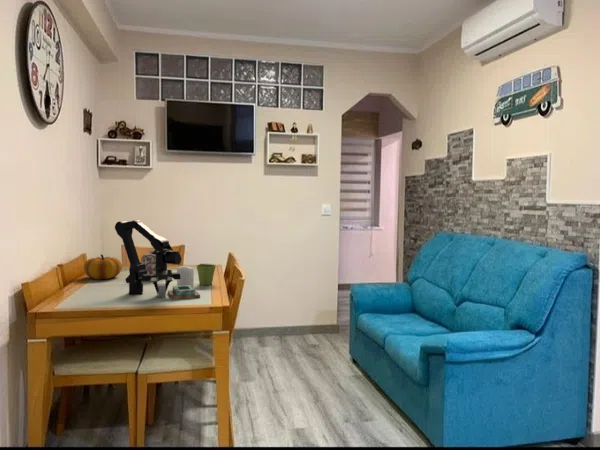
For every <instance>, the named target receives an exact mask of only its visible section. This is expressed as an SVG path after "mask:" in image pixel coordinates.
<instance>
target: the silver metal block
mask: <svg viewBox="0 0 600 450" xmlns="http://www.w3.org/2000/svg"><path fill="white" fill-rule="evenodd" d="M157 287H158V294H157V293H156V295H157V297H158V299H160V298H162V299H164V298H166V297H167V296H166V294H167V291H166V285H165V282H164V283H163V282H162V283H157Z"/></svg>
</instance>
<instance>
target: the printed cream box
mask: <svg viewBox="0 0 600 450" xmlns="http://www.w3.org/2000/svg"><path fill="white" fill-rule="evenodd" d="M176 273H179V274H180V275H181V279H177V280H176V286H184V285H191V286H192V287H193V288H194V279H195V278H194V275H195V274H194V273H195V272H194V269H193V268H192V267H191V266H187V265H182V266H181V265H180V266H179V267H177V270H176Z"/></svg>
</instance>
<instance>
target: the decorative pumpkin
mask: <svg viewBox="0 0 600 450" xmlns="http://www.w3.org/2000/svg"><path fill="white" fill-rule="evenodd" d="M82 267H83V273H84V274H85V275H86V276H87V277H88V278H90V279H95V280H97V281H99V280H110V279H113V278H116V277H117V276H119V275H120V274H121V272H122V268H123V265H122V262H121V260H119V259H118V258H117V257H111V256H105V257H104V255H103V254H100V256H97V257H91V258H89V259H87V260H85V262H84V263H83V266H82Z"/></svg>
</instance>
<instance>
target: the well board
mask: <svg viewBox="0 0 600 450" xmlns="http://www.w3.org/2000/svg"><path fill="white" fill-rule="evenodd" d="M167 294H168V296H169V297H170V299H171V301H174V300H176V301H177V300H188V299H189V300H190V299H200V298H201V294H200V293H199V292H198V290H196V289H195V288H194V286H193V287H192V286H191V285H184V286H177V285H173V286H172V290H171V289H170V290H167Z"/></svg>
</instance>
